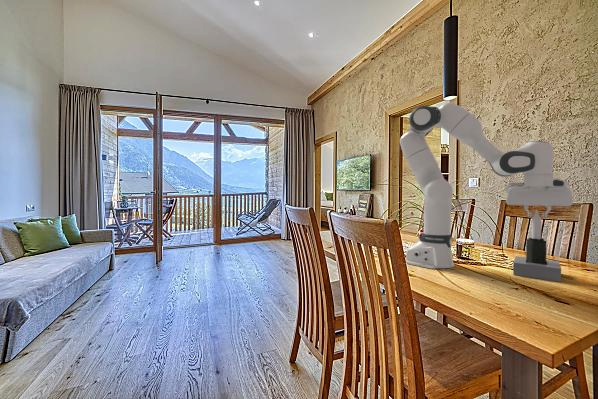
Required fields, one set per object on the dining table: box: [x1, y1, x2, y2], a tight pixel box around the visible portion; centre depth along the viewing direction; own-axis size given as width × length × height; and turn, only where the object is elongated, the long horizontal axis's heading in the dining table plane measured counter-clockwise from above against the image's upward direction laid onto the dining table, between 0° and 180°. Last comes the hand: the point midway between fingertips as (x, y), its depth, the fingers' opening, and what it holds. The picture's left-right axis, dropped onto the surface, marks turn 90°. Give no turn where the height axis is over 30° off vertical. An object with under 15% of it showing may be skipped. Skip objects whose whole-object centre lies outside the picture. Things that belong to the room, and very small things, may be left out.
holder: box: [512, 255, 562, 283], centre depth 114 cm, size 14×14×5 cm
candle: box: [525, 209, 547, 265], centre depth 114 cm, size 5×5×25 cm
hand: (537, 217), depth 113 cm, fingers open, 3 cm apart
